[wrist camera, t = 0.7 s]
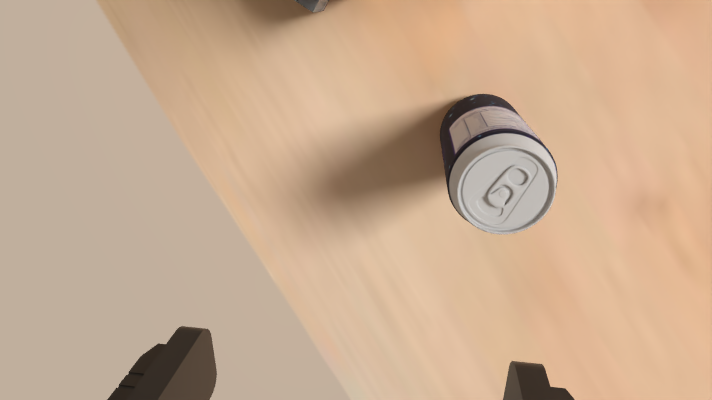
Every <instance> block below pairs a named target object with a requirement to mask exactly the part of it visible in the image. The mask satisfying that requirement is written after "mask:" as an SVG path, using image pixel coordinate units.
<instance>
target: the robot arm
mask: <svg viewBox="0 0 712 400" xmlns="http://www.w3.org/2000/svg"><path fill="white" fill-rule="evenodd" d="M216 375H217V373H216V364H215V358H214V351H213V345H212V338H211V333H210V331H209V330H208V329H202V328H193V327H184V326H182V327H179V328H178V329H177V330H176V332H175V333H174V334H173V336H172V337H171V338H170V340H169V341H168V342H167V344H157V345H156V346H154V347H153V348H152V349H150V350H149V351H148V352H146V353H145V354H143V355H142V356H141V357H140V358H139V359H138V361H137V362H136V363H135V365H134V366H133V367H132V368H131V370H130V371H129V374H128V375H126V376H125V378H124V379H123V380H122V381H121V383H120V384H119V387H118V388H116V389H115V391H114V392H113V393H112V394H111V396H110V397H109V398H108V400H209V399H210V397H211V395H212V393H213V390H214V387H215V383H216ZM503 400H574V398H573V397H572V396H571V395H570V394H569V392H568V391H567V390H566V389H565V388H556V387H550V384H549V381H548V378H547V374H546V371H545V368H544V366H543V365H542V364H535V363H526V362H516V361H512V362H511V363H510V366H509V371H508V376H507V382H506V387H505V392H504V398H503Z"/></svg>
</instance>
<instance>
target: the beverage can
mask: <svg viewBox="0 0 712 400" xmlns="http://www.w3.org/2000/svg"><path fill="white" fill-rule="evenodd" d="M440 141H441V148H442V154H443V161H444V168H445V175H446V181H447V188H448V194H449V198H450V200H451V203H452V205H453V206H454V208H455V209H456V211H457V212H458V213H459V214H460V215H461V216H462V217H463V218H464V219H465V220H467V221H468V222H470V223H471V224H472V225H474V226H475V227H477V228H479V229H481V230H483V231H485V232H489V233H493V234H512V233H517V232H520V231H523V230H525V229H528V228H530V227H531V226H533V225H535V224H536V223H537V222H538V221H540V220H541V219H542V218H543V217H544V216H545V214H546V213H547V212H548V210H549V209H550V207H551V205H552V203H553V200H554V197H555V192H556V186H557V168H556V164H555V161H554V159H553V157H552V155H551V153H550V152H549V150H548V149H547V148H546V147H545V145H544V144H543V143H542V142H541V141H540V139H539V138H538V137H537V136H536V135H535V133H534V132H533V131H532V130H531V129H530V127H529V126H528V125H527V124H526V123H525V121H524V120H523V119H522V118H521V117H520V115H519V114H518V113H517V112H516V111H515V109H514V108H513V107H512V106H511V105H510V104H509V103H508V102H507V101H505V100H504V99H502V98H500V97H497V96H494V95H489V94H477V95H472V96H469V97H466V98H464V99H462V100H460V101H459V102H457V103H456V104H455V105H454V106H453V107H452V108H451V109H450V110H449V111H448V112H447V114H446V115H445V117H444V119H443V122H442V125H441V129H440Z"/></svg>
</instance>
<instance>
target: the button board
mask: <svg viewBox="0 0 712 400" xmlns="http://www.w3.org/2000/svg"><path fill="white" fill-rule="evenodd" d="M295 1H296V2H298V3H299V4H301V5H302V6H304V7H305V8H307V9H308V10H310V11H311V12H319V11H323V10H324V8H325V6H326V4H327V3H328V1H329V0H295Z"/></svg>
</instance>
